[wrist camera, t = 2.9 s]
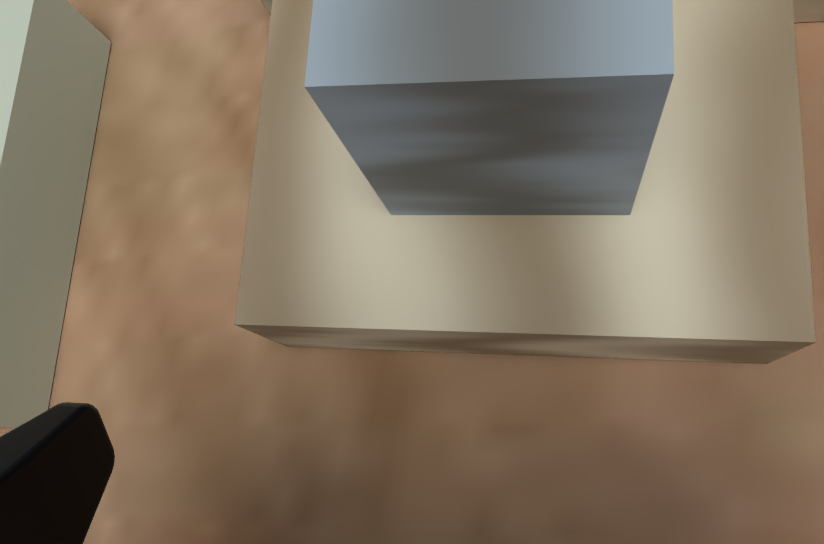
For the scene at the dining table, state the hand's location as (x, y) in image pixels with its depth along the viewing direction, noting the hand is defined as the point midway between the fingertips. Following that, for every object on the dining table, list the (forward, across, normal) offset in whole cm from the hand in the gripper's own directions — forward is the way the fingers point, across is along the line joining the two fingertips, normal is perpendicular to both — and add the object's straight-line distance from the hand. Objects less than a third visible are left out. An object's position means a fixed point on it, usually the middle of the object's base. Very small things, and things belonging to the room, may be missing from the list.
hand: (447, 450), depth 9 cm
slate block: (+12, 0, +1) cm, 12 cm away
